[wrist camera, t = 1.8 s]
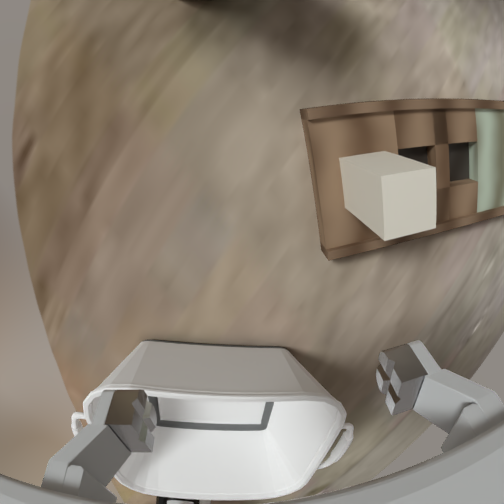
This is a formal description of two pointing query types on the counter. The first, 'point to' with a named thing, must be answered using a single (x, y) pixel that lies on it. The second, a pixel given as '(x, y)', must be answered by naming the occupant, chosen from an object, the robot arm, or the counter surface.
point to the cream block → (390, 193)
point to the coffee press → (180, 501)
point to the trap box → (413, 147)
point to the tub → (225, 421)
